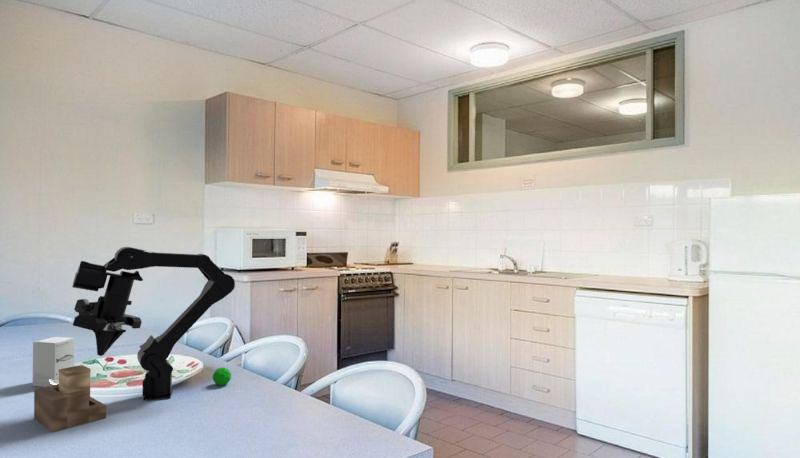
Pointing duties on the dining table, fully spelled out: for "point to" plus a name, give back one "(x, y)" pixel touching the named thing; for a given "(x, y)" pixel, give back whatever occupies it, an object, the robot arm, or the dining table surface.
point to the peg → (74, 379)
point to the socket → (65, 408)
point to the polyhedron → (221, 376)
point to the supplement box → (51, 359)
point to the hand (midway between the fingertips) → (100, 355)
